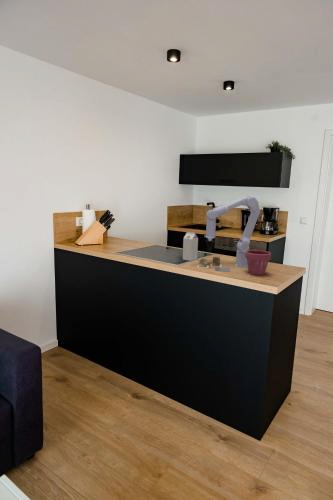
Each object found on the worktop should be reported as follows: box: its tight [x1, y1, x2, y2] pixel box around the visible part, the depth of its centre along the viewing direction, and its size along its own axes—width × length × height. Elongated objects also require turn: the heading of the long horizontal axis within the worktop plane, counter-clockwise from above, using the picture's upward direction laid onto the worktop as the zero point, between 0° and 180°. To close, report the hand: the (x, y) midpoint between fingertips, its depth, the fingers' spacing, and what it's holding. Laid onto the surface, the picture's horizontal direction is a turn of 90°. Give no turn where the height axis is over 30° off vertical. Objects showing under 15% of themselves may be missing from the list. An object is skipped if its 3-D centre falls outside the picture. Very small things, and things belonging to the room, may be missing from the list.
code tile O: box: [196, 264, 210, 269], centre depth 213 cm, size 7×7×1 cm
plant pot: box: [245, 249, 272, 276], centre depth 200 cm, size 14×14×13 cm
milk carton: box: [182, 231, 199, 262], centre depth 230 cm, size 7×7×19 cm
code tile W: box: [210, 263, 223, 268], centre depth 216 cm, size 7×7×1 cm
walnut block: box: [211, 256, 221, 267], centre depth 216 cm, size 4×4×5 cm
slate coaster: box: [214, 267, 231, 273], centre depth 206 cm, size 9×9×1 cm
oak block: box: [198, 257, 208, 268], centre depth 212 cm, size 4×4×5 cm
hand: (210, 250), depth 217 cm, fingers open, 7 cm apart
